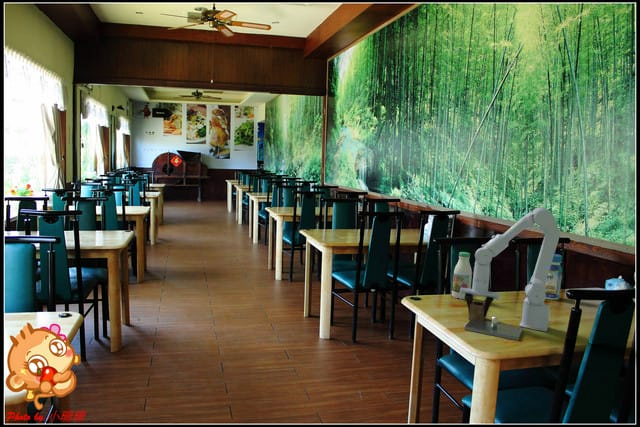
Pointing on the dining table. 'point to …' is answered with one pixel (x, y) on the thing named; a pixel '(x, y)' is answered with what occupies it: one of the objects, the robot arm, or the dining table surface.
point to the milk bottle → (462, 275)
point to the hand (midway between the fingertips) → (477, 314)
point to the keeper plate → (494, 328)
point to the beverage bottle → (554, 278)
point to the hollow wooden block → (477, 310)
